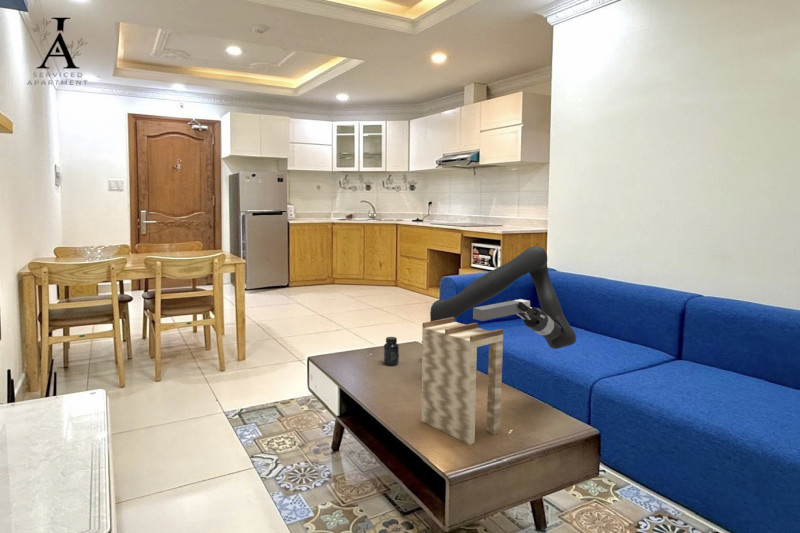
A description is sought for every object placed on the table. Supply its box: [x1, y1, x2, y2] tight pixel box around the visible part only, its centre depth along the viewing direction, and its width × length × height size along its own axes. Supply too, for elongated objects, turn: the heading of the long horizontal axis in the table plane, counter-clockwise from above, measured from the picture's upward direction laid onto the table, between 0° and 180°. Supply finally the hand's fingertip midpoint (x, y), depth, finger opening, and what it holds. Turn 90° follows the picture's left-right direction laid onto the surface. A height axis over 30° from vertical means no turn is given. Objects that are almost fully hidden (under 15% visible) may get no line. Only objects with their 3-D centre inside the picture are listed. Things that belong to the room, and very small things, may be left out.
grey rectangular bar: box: [472, 298, 531, 322], centre depth 172 cm, size 4×24×4 cm, turn 129°
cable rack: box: [420, 317, 504, 445], centre depth 168 cm, size 22×14×34 cm, turn 39°
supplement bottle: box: [383, 336, 400, 367], centre depth 234 cm, size 7×7×12 cm
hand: (513, 303), depth 175 cm, fingers closed on grey rectangular bar, 4 cm apart
